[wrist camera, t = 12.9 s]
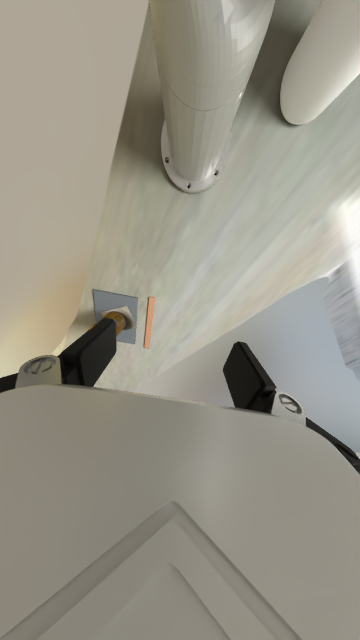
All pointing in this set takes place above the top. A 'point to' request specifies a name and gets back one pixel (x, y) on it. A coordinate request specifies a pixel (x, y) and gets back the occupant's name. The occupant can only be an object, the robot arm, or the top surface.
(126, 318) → the condiment
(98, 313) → the mat
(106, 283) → the top surface
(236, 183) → the top surface
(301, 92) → the alcohol
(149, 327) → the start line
